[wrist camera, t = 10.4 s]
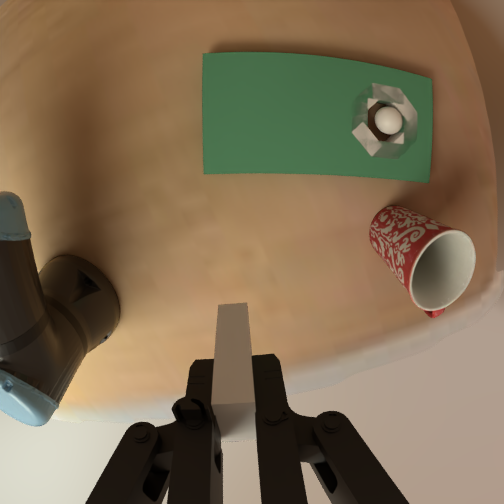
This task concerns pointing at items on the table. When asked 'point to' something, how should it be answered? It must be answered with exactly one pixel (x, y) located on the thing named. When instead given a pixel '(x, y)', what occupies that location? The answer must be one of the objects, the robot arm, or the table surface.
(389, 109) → the ball
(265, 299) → the table surface
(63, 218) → the table surface
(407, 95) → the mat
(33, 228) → the table surface
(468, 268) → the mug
